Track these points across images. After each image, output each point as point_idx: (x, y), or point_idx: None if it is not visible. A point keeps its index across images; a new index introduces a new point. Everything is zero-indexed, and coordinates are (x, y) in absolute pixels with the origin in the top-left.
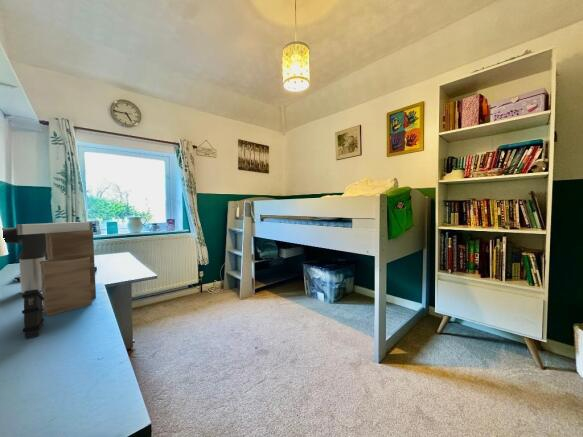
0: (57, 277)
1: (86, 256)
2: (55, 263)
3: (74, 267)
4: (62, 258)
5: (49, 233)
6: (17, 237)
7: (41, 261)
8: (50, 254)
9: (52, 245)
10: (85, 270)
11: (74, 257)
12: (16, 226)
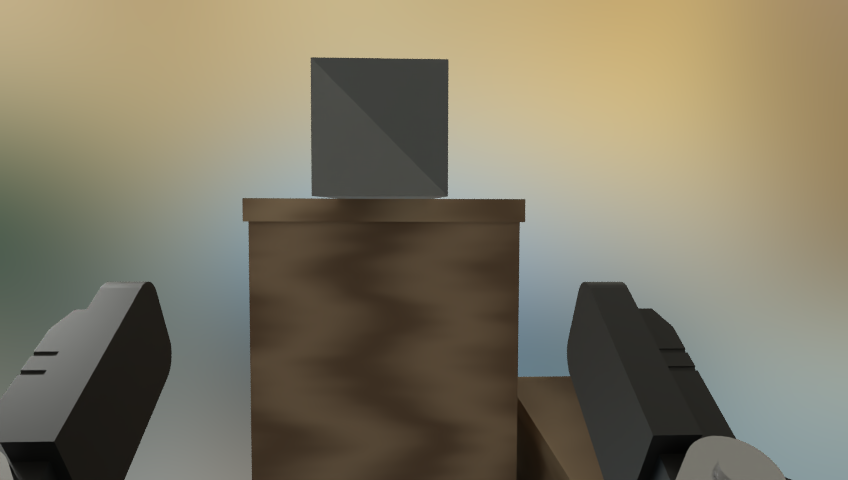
0: None
1: (565, 377)
2: None
3: None
4: (541, 419)
5: (459, 203)
6: None
7: (595, 476)
8: (423, 408)
9: (516, 313)
10: None
11: (553, 396)
12: (327, 83)
